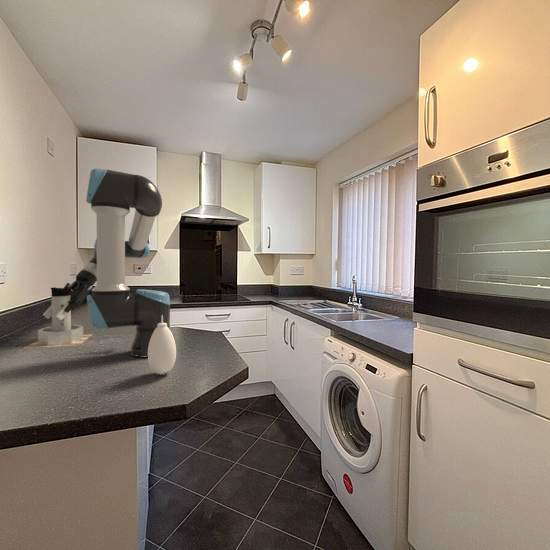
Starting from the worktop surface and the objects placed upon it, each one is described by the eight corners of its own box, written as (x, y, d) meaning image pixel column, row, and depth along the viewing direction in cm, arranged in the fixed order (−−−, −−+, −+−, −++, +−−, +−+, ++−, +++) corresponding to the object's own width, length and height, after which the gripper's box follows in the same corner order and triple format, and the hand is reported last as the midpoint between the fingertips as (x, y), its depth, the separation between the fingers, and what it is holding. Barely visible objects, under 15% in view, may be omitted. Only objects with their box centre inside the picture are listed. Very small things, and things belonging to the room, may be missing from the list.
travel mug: (57, 334, 123) (56, 287, 122) (74, 334, 123) (73, 286, 123) (47, 338, 117) (46, 288, 116) (65, 338, 117) (64, 288, 116)
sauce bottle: (159, 381, 83) (159, 317, 82) (142, 375, 87) (142, 315, 86) (181, 373, 89) (181, 314, 89) (164, 368, 93) (164, 311, 93)
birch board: (78, 348, 114) (78, 344, 114) (23, 351, 109) (23, 348, 109) (93, 337, 131) (93, 334, 131) (45, 339, 126) (45, 336, 126)
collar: (75, 344, 115) (75, 331, 115) (31, 346, 111) (31, 333, 111) (87, 335, 129) (87, 324, 129) (48, 337, 125) (48, 325, 125)
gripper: (111, 281, 131) (76, 324, 116) (79, 280, 137) (42, 321, 122) (100, 269, 126) (62, 313, 111) (67, 268, 132) (27, 310, 117)
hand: (52, 317), depth 116 cm, fingers closed on travel mug, 6 cm apart
